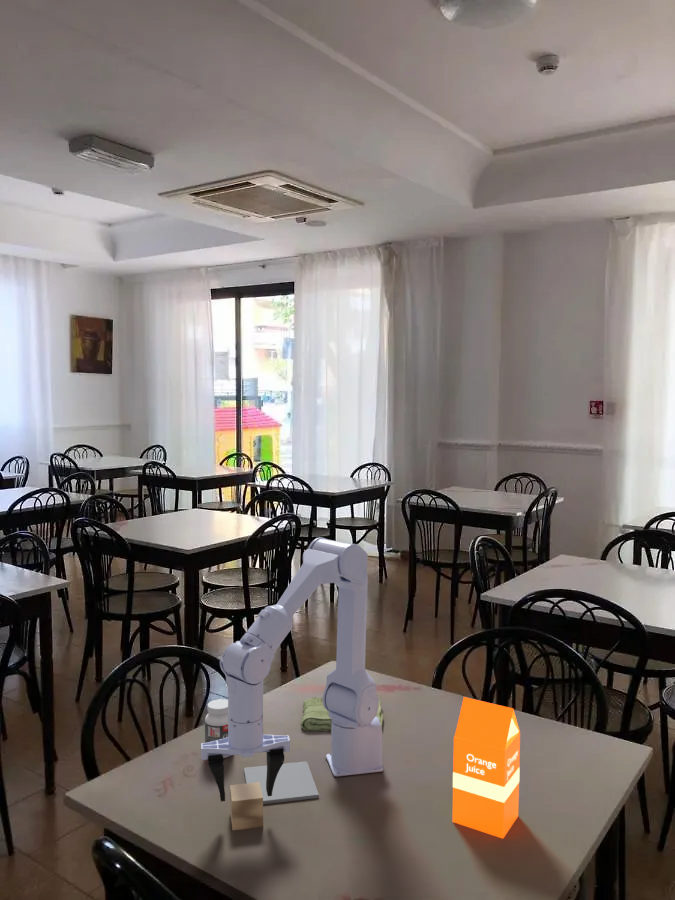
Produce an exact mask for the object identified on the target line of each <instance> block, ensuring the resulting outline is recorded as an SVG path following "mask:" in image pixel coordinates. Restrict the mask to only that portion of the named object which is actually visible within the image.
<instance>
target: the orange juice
mask: <svg viewBox="0 0 675 900" xmlns="http://www.w3.org/2000/svg"><path fill="white" fill-rule="evenodd" d="M455 729H456V730H455V732H454V736H453V755H452V756H453V759H452V760H453V761H452V762H453V763H452V764H453V765H452V766H453V769H452V770H453V771H452V820H451V821H452V823H455V824H457V825H460V826H464V827H467V828H469V829H472V830H476V831H479V832H482V833H485V834H488V835H491V836H493V837H497V838H500V839H504V838H505V837H506V835H507V834H508V832H509V830H510V829H511V828H512V826H513V825H514V823H515V822H516V820H517V819H518V817H519V803H520V802H519V801H520V799H519V798H520V773H521V772H520V770H521V769H520V768H521V767H520V763H521V762H520V761H521V760H520V753H521V752H520V749H521V748H520V747H521V731H520V727H519V724H518V720H517V716H516V714H515V709H514V707H513V708H512V707H509V706H504V705H499V704H496V703H493V702H492V703H490V702H487V701H484V700H483V701H482V700H477V699H474V698H469V697H466V696H463V699H462V703H461V707H460V712H459V717H458V721H457V725H456V728H455Z"/></svg>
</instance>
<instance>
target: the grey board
mask: <svg viewBox="0 0 675 900" xmlns="http://www.w3.org/2000/svg"><path fill="white" fill-rule="evenodd" d="M243 773H244V779H245V784H246V783H255V782H260V786H261V791H262V796H263V805H268V804H277V803H285V802H293V801H294V802H296V801H303V800H312V799H320V794H319V792H318V788H317V785H316V782H315V779H314V777H313V774H312V772H311V769H310V765H309V763H308V761H296V762H287V763H283V765H282V766H281V768H280V770H279V772H278V774H277V777H276V780H275V783H274V786H273V791H272V796H268V795H267V791H266V778H267V764H266V765H258V766H247V767H243Z"/></svg>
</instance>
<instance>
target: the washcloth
mask: <svg viewBox="0 0 675 900" xmlns="http://www.w3.org/2000/svg"><path fill="white" fill-rule="evenodd" d="M302 703H303V704H302V708H303V709H302V717H301V721H300V727H301V729H303V730H305V731H316V732H317V731H318V732H330V731H331V718H330V717H329V711H327V710H326V709H325V708H324V705H323V696H322V697H316V696H315V697H311V698H307V699H305V700H304V701H303V702H302ZM381 707H382V701H381V700H379V707H378V712H377V714H376V716H375V717H378V718H379V721H380V724H381V728H382V729H383V720H384V719H383V718H384V714H383V712H382V708H381Z"/></svg>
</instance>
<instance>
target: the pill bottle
mask: <svg viewBox="0 0 675 900" xmlns="http://www.w3.org/2000/svg"><path fill="white" fill-rule="evenodd" d="M207 712H208V713H207V714H206V716H205V719H204V743H208V742H212V741H216V740H220V739H224V738H228V699H224V698H222V699H220V698H219V699H213V700H210V701H209V702H208V703H207ZM230 756H231V755H229V756H223V759H226V758H229V757H230Z"/></svg>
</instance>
